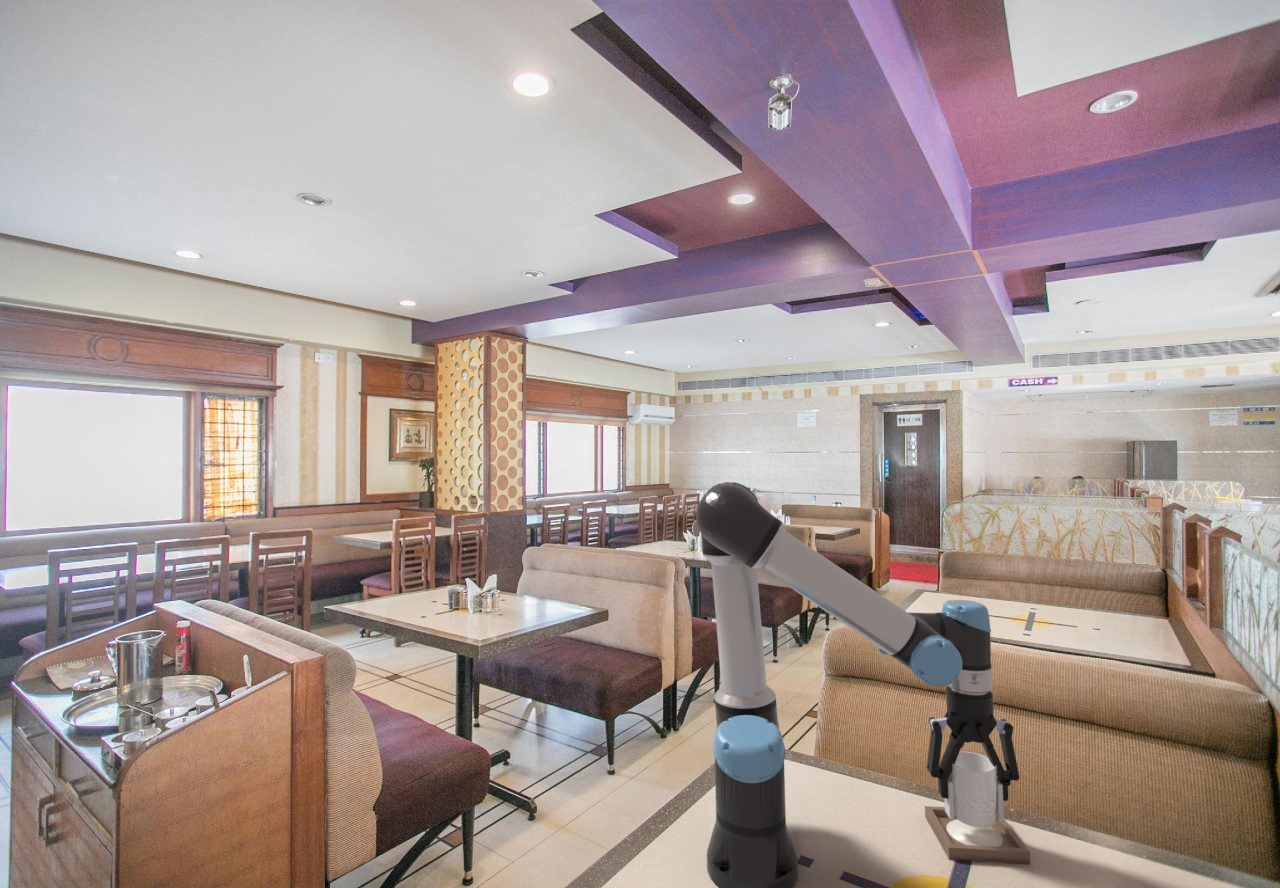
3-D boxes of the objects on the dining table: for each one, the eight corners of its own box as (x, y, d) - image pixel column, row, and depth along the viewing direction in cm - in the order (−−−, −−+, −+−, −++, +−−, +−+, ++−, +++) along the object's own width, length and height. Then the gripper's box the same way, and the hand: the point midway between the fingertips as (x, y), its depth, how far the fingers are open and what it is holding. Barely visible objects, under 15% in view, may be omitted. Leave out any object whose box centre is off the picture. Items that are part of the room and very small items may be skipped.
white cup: (956, 828, 111) (954, 770, 111) (944, 804, 118) (942, 750, 119) (1006, 832, 109) (1003, 773, 109) (990, 807, 117) (988, 752, 117)
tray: (949, 859, 108) (948, 847, 108) (925, 816, 121) (924, 806, 121) (1030, 864, 106) (1030, 852, 106) (997, 820, 119) (997, 809, 119)
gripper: (915, 694, 112) (920, 825, 111) (1039, 697, 109) (1045, 831, 109) (904, 680, 119) (908, 802, 119) (1019, 682, 117) (1025, 807, 116)
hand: (974, 816), depth 114 cm, fingers closed on white cup, 8 cm apart
